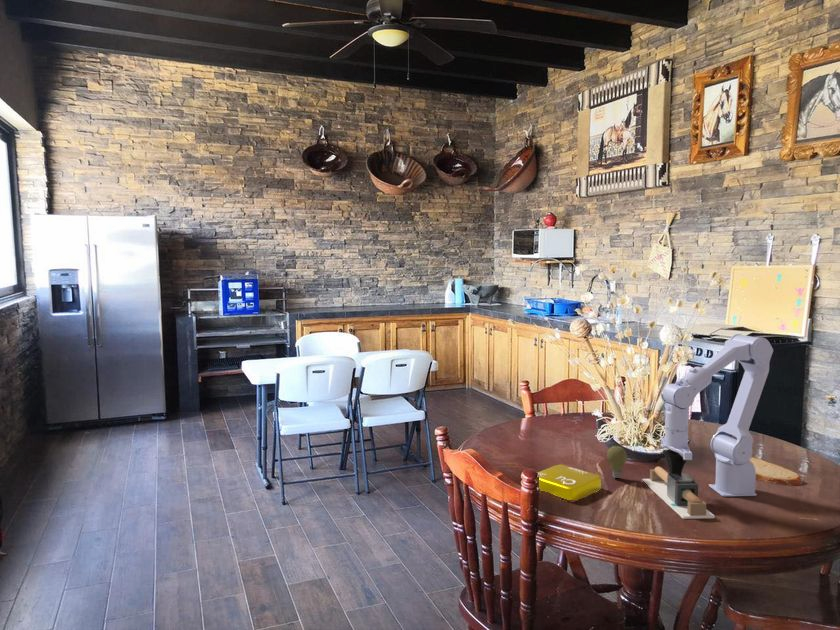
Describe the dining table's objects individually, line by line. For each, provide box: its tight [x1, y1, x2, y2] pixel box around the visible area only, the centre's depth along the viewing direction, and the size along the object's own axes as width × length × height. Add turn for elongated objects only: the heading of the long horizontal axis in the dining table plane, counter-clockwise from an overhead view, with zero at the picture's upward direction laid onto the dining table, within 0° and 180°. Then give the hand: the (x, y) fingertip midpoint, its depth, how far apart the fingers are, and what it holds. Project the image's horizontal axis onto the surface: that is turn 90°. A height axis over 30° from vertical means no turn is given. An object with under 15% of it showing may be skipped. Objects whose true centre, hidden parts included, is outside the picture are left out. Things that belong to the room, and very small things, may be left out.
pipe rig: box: [642, 466, 716, 520], centre depth 160 cm, size 26×8×5 cm, turn 1°
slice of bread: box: [749, 456, 804, 486], centre depth 178 cm, size 18×18×4 cm
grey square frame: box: [675, 482, 699, 505], centre depth 154 cm, size 1×5×5 cm, turn 91°
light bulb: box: [606, 445, 628, 479], centre depth 175 cm, size 6×6×10 cm
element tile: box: [537, 463, 602, 500], centre depth 168 cm, size 15×15×5 cm
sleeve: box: [667, 473, 696, 502], centre depth 157 cm, size 5×5×6 cm
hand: (675, 477), depth 160 cm, fingers closed
